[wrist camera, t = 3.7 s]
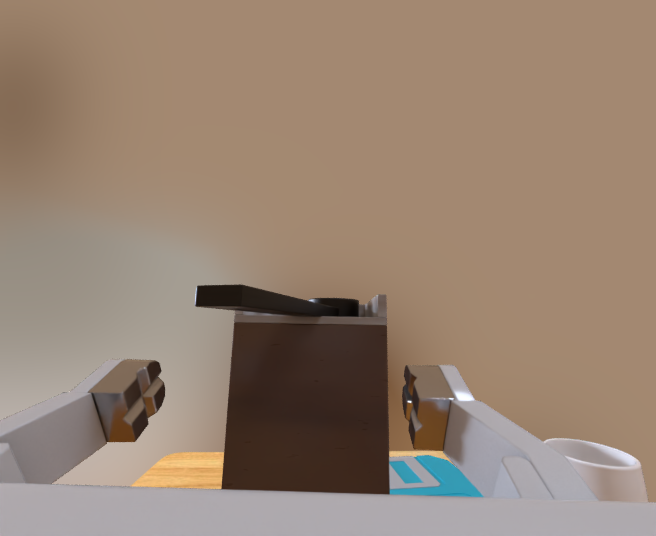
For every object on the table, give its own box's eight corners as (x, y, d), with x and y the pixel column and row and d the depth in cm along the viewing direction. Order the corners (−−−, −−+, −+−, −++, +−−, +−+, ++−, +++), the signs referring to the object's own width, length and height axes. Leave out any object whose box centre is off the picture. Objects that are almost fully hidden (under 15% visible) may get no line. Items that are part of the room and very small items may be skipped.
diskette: (332, 600, 29) (332, 587, 29) (306, 466, 56) (307, 460, 56) (575, 572, 32) (574, 561, 33) (440, 460, 60) (440, 454, 60)
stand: (396, 857, 15) (386, 294, 20) (194, 842, 15) (235, 292, 20) (372, 647, 25) (370, 305, 30) (250, 640, 25) (268, 303, 30)
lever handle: (270, 306, 11) (273, 261, 11) (168, 306, 12) (173, 266, 12) (363, 320, 28) (363, 302, 28) (316, 319, 29) (317, 302, 29)
